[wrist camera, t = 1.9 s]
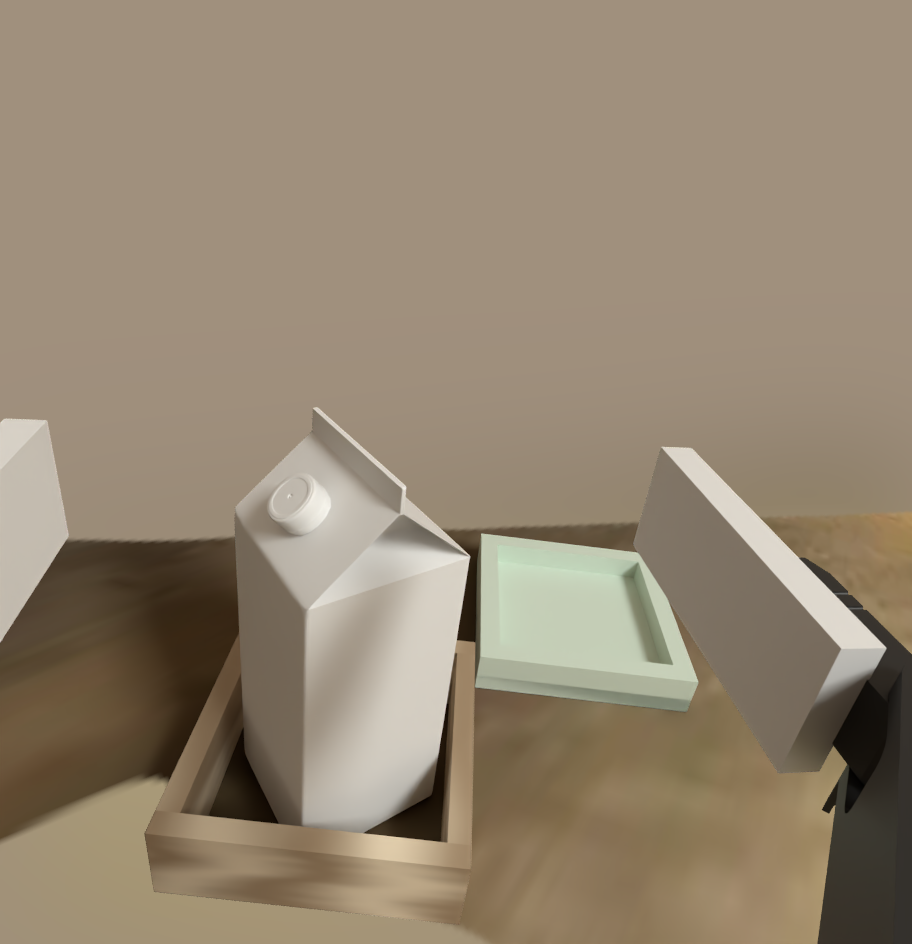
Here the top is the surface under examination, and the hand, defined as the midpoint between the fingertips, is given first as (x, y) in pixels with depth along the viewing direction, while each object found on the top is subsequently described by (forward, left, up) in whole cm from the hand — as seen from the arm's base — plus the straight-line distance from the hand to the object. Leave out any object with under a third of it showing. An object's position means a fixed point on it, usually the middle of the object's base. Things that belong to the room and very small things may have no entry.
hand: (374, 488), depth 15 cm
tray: (+12, +23, -23) cm, 35 cm away
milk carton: (-2, +10, -23) cm, 25 cm away
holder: (-2, +10, -23) cm, 25 cm away
